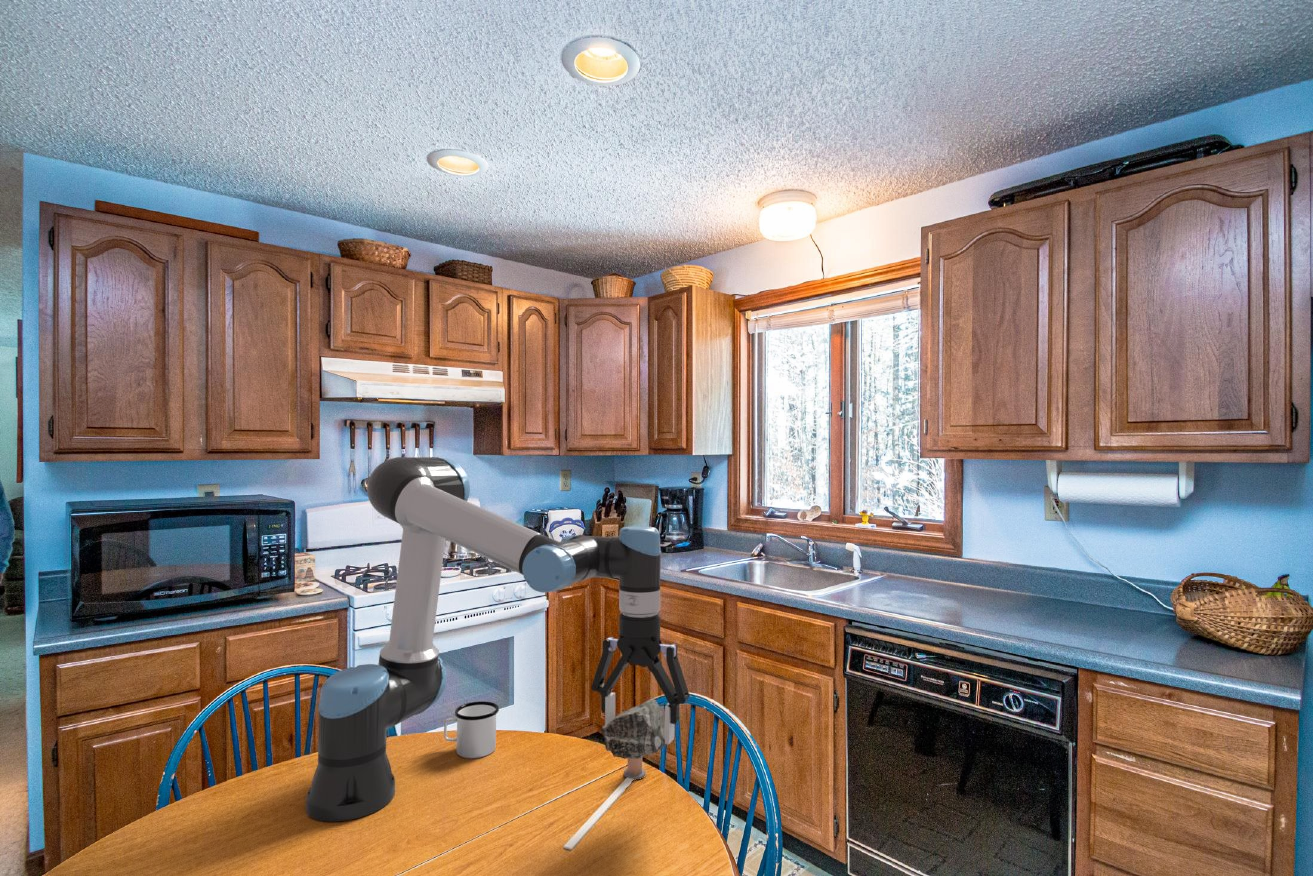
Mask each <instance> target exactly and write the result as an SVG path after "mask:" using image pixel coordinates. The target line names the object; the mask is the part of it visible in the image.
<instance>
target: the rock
mask: <svg viewBox="0 0 1313 876" xmlns="http://www.w3.org/2000/svg"><path fill="white" fill-rule="evenodd" d="M600 729H601V731H600V732H601V735H602V736H603V739H604V747H605V750H606V751H608V752H610V753H611V754H612V757H614V758H615V757H616V758H620V759H624V760H626V759H627V760H628V759H629V758H630V759H639V758H641V756H642V757H643V756H645V755H652V754H656V753H658V752H659V751H660V750H661V749H663V748H664V747H665V746H667V744H665V708H663V707H662V706H661V705H659V704H658V702H657V700H656V699H653V698H649V699H647V700H646V701H644V702H643V703H640V704H638V705H636V706H633V707H631V708H629V709H627V710H625V711H622V712H621V713H619V714H617V715H615V718H614V719H613V720H612V721H611V722H609V723H608V724H607V725H605V724H604V725H603V726H602V727H601V728H600Z"/></svg>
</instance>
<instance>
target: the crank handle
mask: <svg viewBox="0 0 1313 876" xmlns="http://www.w3.org/2000/svg"><path fill="white" fill-rule="evenodd" d="M646 773H647V772H646V769H644V768H643V755H642V756H641V758H639V759H630V758H629V759H627V768H626V769H625V770H624V771H623V776H625V777H626V778H625V777H624V778H625V779H624V780H623V781H622V782H621V783H620V785H619V786H618V787H617V788H616V789H615V790H614V791H613V792H612V793H611V794H610V795H609V797H608V798H607V799H606V800H605V801H604V802H603V803H602V804H601V805H600V806H599V807H598V808H597V809H596V810H595V811H594V813H593V814H592V815H591V816H590V817H589V818H588V819H587V820H586V821H585V823H584V824H583V825H582V826H581V827H580V828H579V829H578V830H577V831H576V832H575V833H574V835H572V836H571V838H569V840H567V842H566V843H565V844H564V845H563V849H566V850H569V851H573V849H574V848H575V847H576V846H577V845H578V844H579V842H581V840H583V838H584V837H585V836H586V835H587V834H588V833H589V831H590V830H591V829H593V827H594V826H596V823H597V822H599V820H600V819H601V818H602V817H603V815H605V813H606V812H607V811H608V810H609V809H610V807H612V805H614V803H615V802H616V801H617V800H618V799H619V797H621V795H622V794H623V793H625V791H626V790H627V789H628V788H627V787H629V786H631V784H632V783H633V782H634V781H635V780H634V779H640V778H643V777H644V776H645V775H647V774H646ZM645 777H646V776H645ZM645 777H644V778H645ZM644 778H643V779H644ZM633 780H634V781H633ZM640 780H641V779H640ZM632 781H633V782H632ZM631 782H632V783H631ZM626 788H627V789H626ZM625 789H626V790H625Z"/></svg>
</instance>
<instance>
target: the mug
mask: <svg viewBox="0 0 1313 876" xmlns="http://www.w3.org/2000/svg"><path fill="white" fill-rule="evenodd" d="M499 711H500V707H499V705H498V704H497V703H495V702H492V701H485V700H483V701H472V702H466V703H464V704H461V705H459V706H458V707H457V708H456V709H455V710H454V716H455V717H450V718H447V719H445V720H444V726H443V734H444V735H443V736H444V739H445V740H446V741H449V742H456V754H457V755H459V756H460V757H462V758H465V759H481V758H484V757H487V756H489V755H491V754H492V753H493V752H495V750H496V749H497V748H496V747H497V714H498V712H499ZM448 722H456V737H448V731H447V727H448Z"/></svg>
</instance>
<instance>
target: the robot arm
mask: <svg viewBox="0 0 1313 876" xmlns="http://www.w3.org/2000/svg"><path fill="white" fill-rule="evenodd" d="M366 489H367V490H366V492H367V497H368V500H369V503H370V504H371V506H372V508H373V509H374V510H376V512H378V513H379V514H380V515H382V516H383V517H385V518H387V519H388V520H391V521H393V522H395V523H397V524H399V525H400V527H401V528H402V535H401V544H400V552H399V561H398V569H397V576H396V584H395V585H396V586H395V592H394V600H393V608H392V617H391V625H390V632H389V640H388V642H387V644H385V645H384V646H383V647H382V648H381V649H380V651H379V656H378V657H379V658H378V664H373V663H368V664H367V663H366V664H359V665H357V666H355V667H354V666H350V667H347V668H344V669H342V670H340V671H337V672H335V673H334V674H331V676H329V677H328V678H326V679H325V681H324V682H323V684H322V685H321V688H320V695H319V696H320V697H319V702H318V704H317V705H318V706H317V707H318V708H317V710H318V747H317V753H318V754H317V765H316V768H315V771H314V774H313V778H312V780H311V785H310V788H309V789H308V791H307V793H306V796H305V812H306V815H308V817H310V818H312V819H313V820H317V821H320V822H329V823H331V822H344V821H350V820H351V821H352V820H354V819H359V818H362V817H366V816H368V815H371V814H373V813H375V812H378V811H380V810H382V808H384V807H386V806H387V805H388V804H389V803H390V802H392V800H393V799H394V798H395V794H396V779H395V778H396V777H395V776H394V774H393V771H392V767H391V764H390V761H389V758H388V755H387V733H388V732H387V730H389V729H391V728H393V727H394V726H396V725H398V724H400V723H402V722H404V721H406V720H408V719H410V718H411V717H413V716H417V715H419V714H421V713H423V712H425V711H426V710H428V709H429V708H430V707H431V706H433V705H435V704H436V703H437V701H439V700H440V698H441V697H442V695H443V693H444V691H445V689H446V685H447V669H446V666H444V665H443V663H444V661H443V659H442V658H441V657H440V654H439V653H440V650H439V649H438V647H436V645H435V644H434V643H433V642H434V633H435V625H436V617H437V612H438V611H437V609H438V602H439V593H440V585H441V577H442V569H443V564H444V562H443V561H444V555H445V547H446V540H447V541H450V542H451V543H454V544H456V545H458V546H460V547H463V548H464V549H467V550H469V551H470V552H472V553H475V554H478V555H479V556H481V557H483V558H486V559H488V560H490V561H492V562H494V563H497V564H499V565H501V566H503V567H505V568H507V569H509V570H511V571H514V572H516V573H518V574H520V575H522V577H523V579H524V581H525V582H526V583H527V584H528V586H529V588H531V589H532V590H534V591H535V592H539V593H551V592H557V591H560V590H563V589H565V588H566V587H567V588H568V587H569V586H572V585H575V584H577V583H581V582H583V581H585V580H588V579H590V578H591V579H592V578H604V579H605V578H606V579H607V578H608V579H618V584H619V585H618V591H619V593H618V594H619V595H618V596H619V598H618V602H619V603H618V607H619V608H618V610H619V611H620V614H619V615H618V634H619V637H618V638H614V637H613V636H609V637H608V638H606V639H605V638H604V640H603V641H602V654H601V656H600V660H599V662H598V665H597V669H596V672H595V674H594V677H593V680H592V683H591V687H590V688H591V690H592V691H593V692H597V693H599V694H600V711H601V713H603V714H604V715H605V716H604V721H605V722H604V726H605V725H607V724H608V723H609V722H611V721H612V720H613V719H614V718H615V717H616V692H611V691H613V689H614V687H615V685H616V684H617V683H618V681H619V679H621V678H620V677H622V675H623V673H624V671H625V670H626V669H627V667H628V665H629V666H639V667H641V668H647V670H648V671H649V672H650V673H652V675H653V677H654V679H655V681H656V682H657V685H658V686H659V688H660V689H661V691H662V693H663V695H664V697H665V699H666V700H667V702H668V703H666V705H664V712H665V744H666V745H670V744H671V743H672V742H673V741H674V740H675V725H676V724H678V722H679V719H680V705H683V704H685V703H686V702H687V701H688V700H689V699H690V698H691V697H690V692H689V688H688V686H687V684H686V680H685V677H684V673H683V670H682V667H681V664H680V660H679V658H678V645H677V643H672V644H664V643H662V639H661V614H660V613H659V612H660V611H661V610H662V609H661V564H662V563H661V559H662V557H661V556H662V550H661V535H660V534H661V533H660V531H659V530H658V529H657V528H656V527H652V526H642V525H639V526H638V525H637V526H636V525H635V526H633V525H632V526H623V527H621V528H620V529H619V534H618V536H612V537H611V536H596V535H595V536H593V535H584V534H578V535H577V534H576V535H565V536H563V537H562V538H561V541H558V540H555V539H553V538H551V537H548V536H547V535H544V534H541V533H540V532H538V531H535V530H532V529H530V528H528V527H526V526H524V525H521V524H519V523H517V522H515V521H512V520H510V519H508V518H506V517H503V516H501V515H499V514H496V513H494V512H492V511H490V510H488V509H485V508H483V507H480V506H479V505H477V504H473V503H472V502H470V501H468V500H469V498H470V495H471V494H470V493H471V482H470V479H469V476H468V475H467V473H466V471H465V470H464V469H463V467H462V466H461V465H460V464H459V463H458V462H456V461H455V460H452V459H448V458H442V457H439V456H432V457H430V456H428V457H427V456H421V457H419V456H418V457H417V456H416V457H414V456H413V457H407V456H397V457H392V458H389V459H386V460H385V461H383V462H382V463H381V462H380V463H379V465H378V466H376V467H375V468H374V470H373V471H372V472H371V473H370V476H369V477H368V481H367V488H366ZM617 648H618V650H619V651H620V653H621V657H620V658H619V659H618V661H617V663H616V666H615V667H614V668H613V670H612V672H611V673H610V674H609V677H608V678H607V680H606V677H607V674H608V671H609V668H610V665H611V662H612V658H613V657H614V656H613V655H614V652H615V651H616V649H617ZM661 652H662V653H663V657H664V658H665V659H666V664H667V667H668V670H669V674H670V677H671V679H670V677H669V675H668V674H667V672H666V670H665V668H664V666H663V662H662V660H661V658H660V657H659V655H660V653H661ZM605 680H606V681H605ZM671 680H672V681H671Z"/></svg>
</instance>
